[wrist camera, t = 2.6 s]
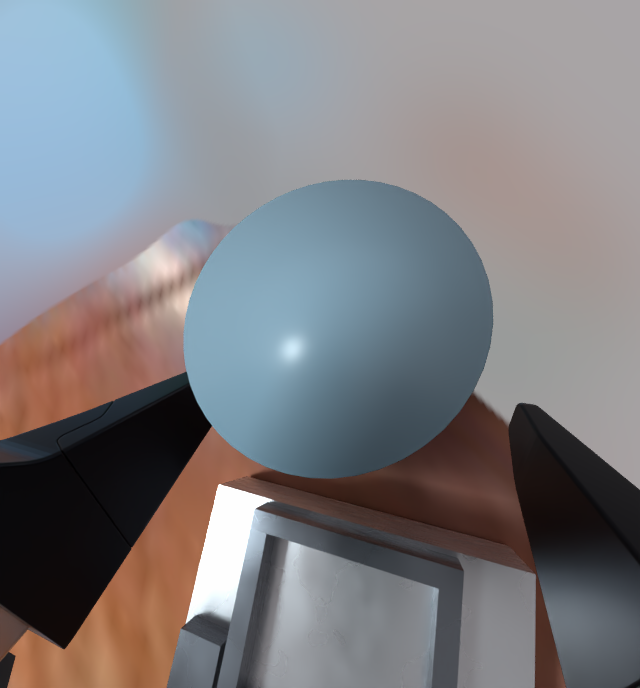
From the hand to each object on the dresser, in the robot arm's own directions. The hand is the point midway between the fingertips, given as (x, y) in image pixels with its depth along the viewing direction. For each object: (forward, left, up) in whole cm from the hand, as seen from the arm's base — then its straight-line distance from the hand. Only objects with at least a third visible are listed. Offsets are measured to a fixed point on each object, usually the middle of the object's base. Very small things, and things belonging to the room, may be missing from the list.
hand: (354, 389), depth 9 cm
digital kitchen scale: (-8, +5, -8) cm, 13 cm away
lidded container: (+1, 0, -8) cm, 8 cm away
